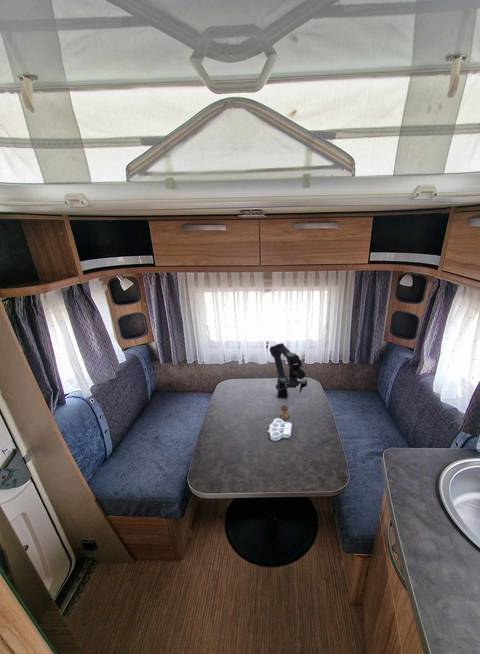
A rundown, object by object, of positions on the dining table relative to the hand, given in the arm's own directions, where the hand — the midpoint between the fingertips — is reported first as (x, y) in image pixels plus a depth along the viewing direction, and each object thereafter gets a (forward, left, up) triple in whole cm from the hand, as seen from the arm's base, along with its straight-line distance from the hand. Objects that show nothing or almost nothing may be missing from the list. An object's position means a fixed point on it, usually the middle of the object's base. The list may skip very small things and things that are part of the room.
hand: (293, 392), depth 196 cm
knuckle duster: (-7, -29, -11) cm, 32 cm away
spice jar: (-5, -14, -11) cm, 18 cm away
